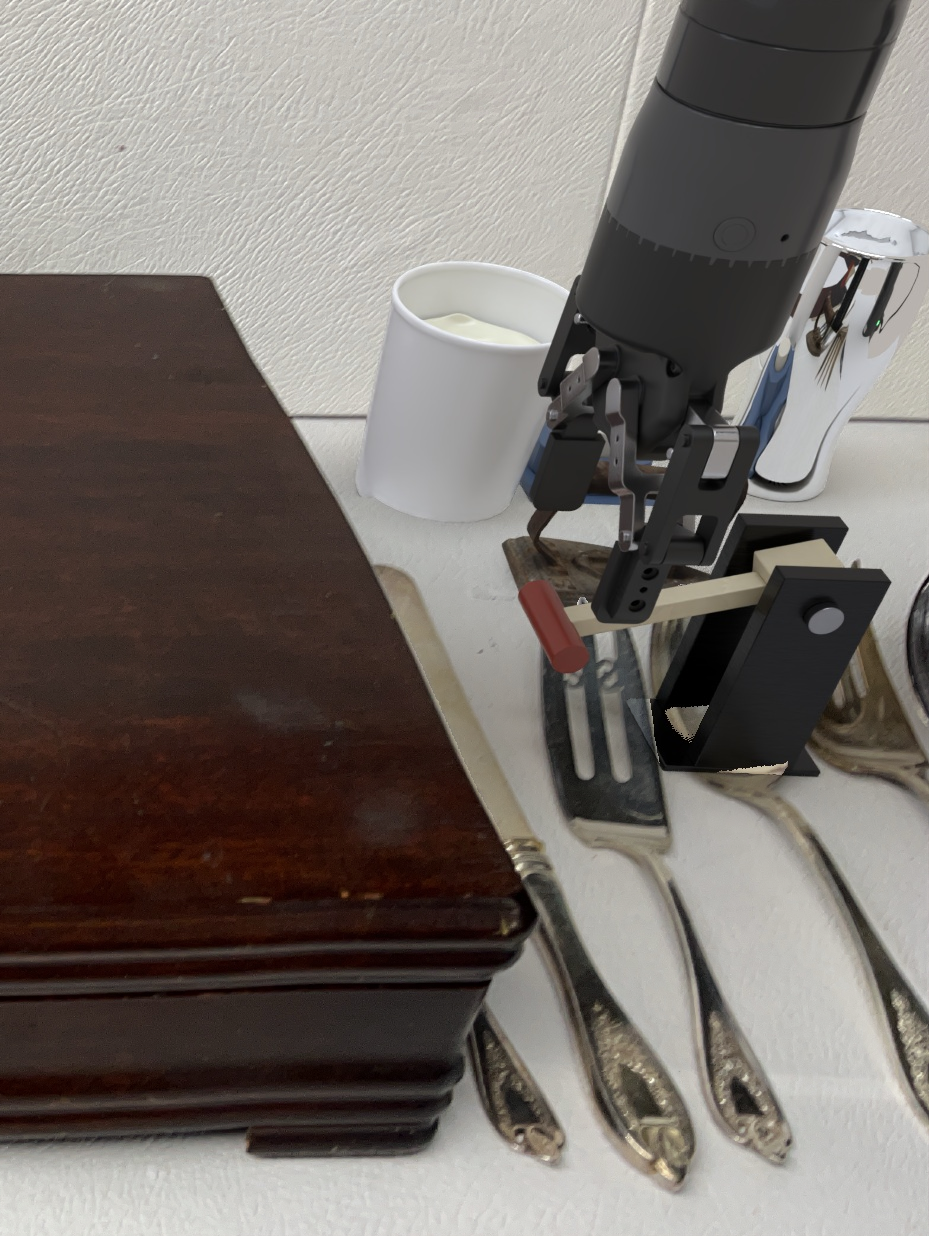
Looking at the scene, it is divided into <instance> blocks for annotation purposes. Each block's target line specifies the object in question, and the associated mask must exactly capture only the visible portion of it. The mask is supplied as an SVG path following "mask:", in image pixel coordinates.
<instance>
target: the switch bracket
mask: <svg viewBox="0 0 929 1236" xmlns="http://www.w3.org/2000/svg"><path fill="white" fill-rule="evenodd" d="M849 530H850V528H849V527H848V525H847V524H846V522H845V521H844V520H843V519H842V517H840V516H839V515H812V514H810V515H809V514H805V515H804V514H783V513H782V514H781V513H748V512H737V513H736V516H735V519H734V521H733V523H732V526H731V528H730V530H729V533H728V534H727V537H726V538H725V541H724V544H723V546H722V548H721V550H720V552H719V555H718V557H717V558H716V560H715V561H716V562H715V563H714V565H713V568H712V570H711V572H710V574H711V575H710V577H709V579H708V580H713V579H719V578H724V577H729V576H735V575H740V574H745V573H751V572H752V571H753V559H754V552H755V551H759V550H764V549H770V548H775V547H780V546H785V545H791V544H796V543H801V542H806V541H812V540H817V539H824V541H825V542H826V543H827V544H828V546H829V547H830V548H831V550H832V551H833V552H834V554H835V555H836V556H837V554H838V552H839V550H840V548H841V546H842V544H843V542H844V540H845V538H846V536H847V534H848V532H849ZM892 583H893V582H892V580H891V579H890V578H889V576H888V575H887V574H886V572H885V571H884V570H883V569H882V568H872V567H871V568H869V567H845V568H843V567H813V566H784V565H776V566H775V568H774V570H773V572H772V574H771V576H770V578H769V580H768V582H767V584H766V587H765V589H764V591H763V593H762V595H761V597H760V599H759V601H758V603H757V604H756V605H750V606H745V607H739V608H734V609H728V610H723V611H718V612H712V613H707V614H701V615H696V616H691V617H690V619H689V622H688V624H687V625H686V628H685V631H684V633H683V635H682V637H681V640H680V642H679V644H678V646H677V648H676V650H675V652H674V655H673V658H672V659H671V662H670V664H669V665H668V669H667V671H666V673H665V675H664V677H663V680H662V682H661V684H660V686H659V689H658V691H657V693H656V695H655V698H654V697H651V698H650V697H649V698H650V703H651V710H652V716H653V724H654V737H655V741H656V746H657V753H658V756H659V762H660V765H659V767H660V769H661V770H662V771H663V772H674V773H675V772H677V773H702V774H704V773H705V774H718V773H717V772H719V771H721V770H722V771H727V770H729V771H732V770H734V769H736V770H737V769H738V768H742V769H743V768H745V769H746V768H750V767H752V768H753V767H757V766H761V767H762V766H764V765H765V766H771V765H772V766H774V765H776V764H784V763H786V762H787V761H788V767H787V768H786V769H785V771H784V773H783V774H782V776H781V777H804V778H805V777H807V778H818V777H819V776H820V775H821V770H820V769H819V767H818V765H817V764H816V762H815V761H814V760H813V759H814V758H813V757H812V756H811V755H810V754H809V752H808V750H807V749H806V746H807V744H808V742H809V741H810V738H811V736H812V734H813V732H814V730H815V728H816V727H817V725H818V723H819V721H820V719H821V717H822V716H823V713H824V712H825V710H826V707H827V706H828V704H829V702H830V700H831V698H832V696H833V694H834V693H835V691H836V689H837V687H838V685H839V683H840V682H841V679H842V678H843V675H844V673H845V672H846V670H847V668H848V666H849V664H850V663H851V661H852V658H853V656H854V655H855V653H856V651H857V649H858V647H859V646H860V644H861V641H862V640H863V638H864V636H865V634H866V632H867V631H868V628H869V626H870V624H871V623H872V621H873V619H874V617H875V615H876V613H877V612H878V610H879V607H880V606H881V604H882V603H883V600H884V598H885V596H886V595H887V592H888V591H889V589H890V587H891V585H892ZM702 705H703V706H707V705H709V707H708V709H707V711H706V713H705V715H704V717H703V719H702V721H701V723H700V725H699V728H698V730H697V732H696V734H695V736H693V737H694V738H693V737H691V738H693V739H691V738H689V739H691V740H689V739H687V738H688V737H686V738H685V739H687V740H685V739H683V738H684V737H681V736H683V735H680V734H678V733H679V732H676V731H677V730H676V731H675V729H672V728H674V727H672V726H673V725H671V723H670V721H668V720H669V719H667V718H668V717H667V715H666V714H665V713H666V712H665V710H666V711H667V709H670V708H671V707H672V708H673V707H681V708H682V707H685V708H686V707H691V706H692V707H694V706H697V707H698V706H702ZM681 734H682V733H681ZM688 735H689V734H688ZM692 735H693V734H692ZM688 740H689V741H688ZM690 741H692V742H690ZM689 742H690V743H689Z"/></svg>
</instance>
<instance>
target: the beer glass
mask: <svg viewBox="0 0 929 1236" xmlns="http://www.w3.org/2000/svg"><path fill="white" fill-rule="evenodd" d="M928 291H929V226H928V224H927V225H926V224H925V223H923V222H921V221H920V220H917V219H915V218H912V217H909V216H906V215H903V214H900V213H897V212H893V211H890V210H886V209H880V208H875V207H868V206H862V205H861V206H859V205H836V207H835V210H834V212H833V214H832V217H831V219H830V222H829V224H828V226H827V229H826V231H825V233H824V236H823V238H822V241H821V243H820V245H819V248H818V250H817V252H816V255H815V257H814V260H813V262H812V264H811V267H810V269H809V271H808V274H807V276H806V278H805V281H804V283H803V285H802V288H801V290H800V293H799V295H798V297H797V300H796V302H795V305H794V307H793V309H792V312H791V314H790V316H789V319H788V321H787V324H786V326H785V328H784V331H783V333H782V335H781V337H780V338H779V340H778V341H777V342H776V343H775V344H774V345H773V346H772V347H771V348H769V349H768V350H766V351H765V352H763V353H761V354H759V355H756V356H754V357H752V358H750V363H749V368H748V369H749V370H748V373H747V379H746V382H745V387H744V391H743V395H742V397H741V401H740V404H739V406H738V408H737V410H736V413H735V414H734V416H733V419H732V420H731V422H730V423H729V425H741V426H756V427H757V428H758V430H759V433H760V445H759V448H758V451H757V454H756V456H755V459H754V461H753V464H752V467H751V469H750V472H749V474H748V484H749V486H748V492H747V495H749V496H753V497H755V498H759V499H764V500H769V501H774V502H782V503H783V502H785V503H794V502H795V503H796V502H797V503H798V502H805V501H808V500H812V499H814V498H816V497H818V496H820V494H821V493H822V492H823V491H824V489H825V487H826V485H827V482H828V478H829V474H830V469H831V465H832V460H833V456H834V453H835V451H836V450H835V449H836V447H837V445H838V441H839V439H840V437H841V435H842V433H843V432H844V430H845V427H846V426H847V424H848V422H849V421H850V419H851V418H852V416H853V415H854V413H856V411H857V409H858V408H859V406H860V405H861V404H862V402H863V401H864V400H865V398H866V397H867V395H868V394H869V393H870V391H872V389H873V388H874V386H875V385H876V383H877V382H878V381H879V379H880V378H881V376H882V375H883V374H884V372H885V371H886V370H887V368H888V367H889V365H890V364H891V362H892V361H893V359H894V358H895V356H897V355H896V354H897V353H898V352H899V350H900V349H901V347H902V345H903V344H904V342H905V341H906V338H907V336H908V334H909V332H910V331H911V329H912V327H913V325H914V323H915V321H916V318H917V316H918V314H919V312H920V311H921V308H922V305H923V303H924V301H925V298H926V295H927V293H928Z"/></svg>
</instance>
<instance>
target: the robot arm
mask: <svg viewBox="0 0 929 1236" xmlns="http://www.w3.org/2000/svg"><path fill="white" fill-rule="evenodd" d="M911 4H912V0H680V1H679V5H678V8H677V10H676V13H675V17H674V19H673V23H672V26H671V28H670V32H669V33H668V37H667V40H666V43H665V46H664V49H663V52H662V54H661V58H660V61H659V64H658V67H657V70H656V73H655V75H654V78H653V80H652V82H651V86H650V88H649V91H648V93H647V94H646V97H645V99H644V101H643V103H642V105H641V108H640V109H639V111H638V113H637V115H636V117H635V118H634V121H633V124H632V126H631V128H630V130H629V132H628V135H627V137H626V140H625V142H624V145H623V149H622V151H621V153H620V154H621V155H620V158H619V160H618V164H617V167H616V170H615V173H614V176H613V179H612V182H611V185H610V188H609V191H608V195H607V197H606V199H605V202H604V205H603V208H602V211H601V214H600V218H599V220H598V223H597V227H596V230H595V233H594V235H593V239H592V242H591V245H590V248H589V250H588V254H587V256H586V259H585V262H584V265H583V268H582V271H581V274H577V275H576V276H575V278H574V280H573V282H572V285H571V288H570V290H569V292H570V293H569V296H568V299H567V301H566V304H565V307H564V310H563V312H562V315H561V318H560V321H559V323H558V326H557V329H556V332H555V334H554V337H553V340H552V343H551V345H550V348H549V351H548V354H547V356H546V359H545V362H544V365H543V367H542V370H541V373H540V376H539V379H538V384H537V385H538V393H539V395H540V396H541V397H551V400H552V402H551V403H550V405H549V406H548V409H547V413H546V425H547V427H548V429H550V430H552V432H550V434H549V437H548V440H547V443H546V446H545V448H544V451H543V454H542V457H541V460H540V463H539V466H538V469H537V472H536V475H535V478H534V481H533V484H532V486H531V489H530V492H529V498H530V499H529V498H528V499H529V501H530V500H531V501H530V503H531V504H532V506H533V508H534V509H535V510H536V509H537V510H540V511H558V512H574V511H577V510H579V509H580V508H581V507H582V506H583V505H584V504H583V503H584V500H585V497H586V495H587V492H588V489H589V486H590V484H591V481H592V478H593V475H594V473H595V470H596V467H597V464H598V462H599V459H600V456H601V454H602V451H603V448H604V445H605V443H606V440H605V439H604V437H603V436H602V434H601V433H598V431H601V432H603V433H604V434H606V437H607V440H608V443H609V446H610V458H609V478H608V484H609V488H610V489H611V491H612V492H614V493H615V494H617V495H618V496H619V498H620V505H619V512H618V513H619V514H618V515H619V517H618V536H617V538H618V539H617V540H616V539H615V541H614V544H613V546H612V548H613V549H612V551H611V554H610V556H609V559H608V562H607V564H606V567H605V569H604V572H603V574H602V577H601V580H600V582H599V585H598V587H597V590H596V593H595V595H594V598H593V600H592V603H591V610H592V611H593V613H594V615H595V617H596V619H597V620H598V621H599V622H601V623H609V624H640V623H643V622H645V621H646V620H648V619H649V617H650V616H651V614H652V612H653V609H654V607H655V604H656V602H657V600H658V597H659V594H660V592H661V590H662V588H663V585H664V583H665V580H666V578H667V576H668V573H669V571H670V568H671V566H672V565H685V566H688V567H692V566H693V567H710V566H712V565H713V564H715V561H716V560H717V558H718V557H717V556H718V554H719V553H720V552H719V551H720V549H721V547H722V544H723V541H724V539H725V536H726V533H727V532H728V528H729V526H730V524H731V523H730V521H731V518H732V516H733V513H734V510H735V508H736V505H737V503H738V500H739V498H740V495H741V492H742V490H743V487H744V485H745V482H746V480H747V477H748V474H749V472H750V469H751V467H752V464H753V461H754V459H755V456H756V454H757V451H758V448H759V445H760V433H759V430H758V428H757V427H756V426H741V425H730V423H729V422H728V421H727V420H726V418H724V417H723V416H722V412H723V408H724V401H725V393H726V389H727V384H728V380H729V375H730V373H731V372H732V371H734V369H735V368H736V367H738V366H740V365H741V364H743V363H744V362H746V361H748V360H749V359H750V360H751V358H752V357H754V356H756V355H759V354H761V353H763V352H765V351H766V350H768V349H769V348H771V347H772V346H773V345H774V344H775V343H776V342H777V341H778V340H779V338H780V337H781V335H782V333H783V331H784V328H785V326H786V324H787V321H788V319H789V316H790V314H791V312H792V309H793V307H794V305H795V302H796V300H797V297H798V295H799V293H800V290H801V288H802V285H803V283H804V281H805V278H806V276H807V274H808V271H809V269H810V267H811V264H812V262H813V260H814V257H815V255H816V252H817V250H818V248H819V245H820V243H821V241H822V238H823V236H824V233H825V231H826V229H827V226H828V224H829V222H830V219H831V217H832V214H833V212H834V210H835V207H836V206H838V202H839V200H840V197H841V195H842V193H843V190H844V188H845V185H846V183H847V180H848V178H849V175H850V173H851V169H852V165H853V162H854V160H855V159H854V158H855V155H856V151H857V146H858V143H859V138H860V134H861V130H862V128H863V124H864V121H865V118H866V116H867V113H868V110H869V108H870V105H871V104H872V101H873V98H874V96H875V94H876V91H877V89H878V86H879V84H880V82H881V80H882V77H883V75H884V72H885V69H886V68H887V65H888V62H889V60H890V58H891V55H892V54H893V51H894V48H895V46H896V44H897V41H898V38H899V36H900V33H901V31H902V29H903V26H904V24H905V21H906V18H907V15H908V12H909V9H910V6H911ZM576 355H582V356H581V361H582V362H581V363H580V364H579V365H578V366H577V367H576V368H575V369H574V370H567V371H565V370H566V367H567V364H568V362H569V359H570V358H571V357H572V356H573V357H575V356H576ZM636 460H637V461H653V462H665V461H668V464H667V466H666V468H667V469H666V472H665V473H645V472H643V471H641V470H640V469H639V468H638V466H637V464H636ZM648 494H657V497H656V500H655V503H654V505H653V506H652V508H651V511H650V514H649V517H648V520H647V522H646V507H647V506H646V496H647V495H648ZM696 516H700V519H699V522H698V524H697V527H696ZM731 522H732V521H731ZM729 523H730V524H729Z"/></svg>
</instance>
